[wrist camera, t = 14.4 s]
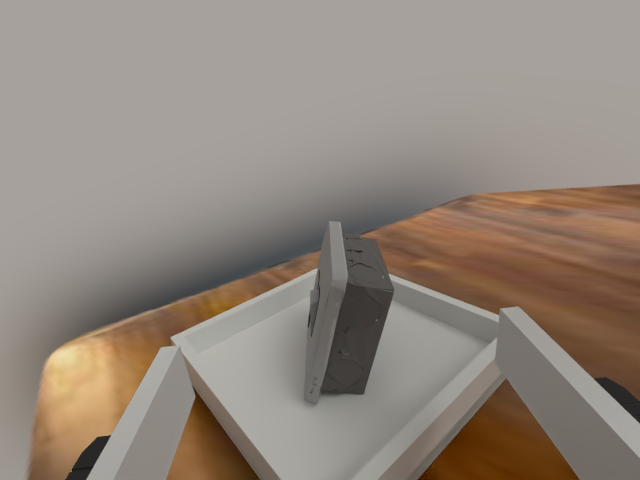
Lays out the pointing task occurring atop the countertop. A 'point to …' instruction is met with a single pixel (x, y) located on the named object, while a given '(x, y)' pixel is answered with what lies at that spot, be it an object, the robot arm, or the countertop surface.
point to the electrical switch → (345, 314)
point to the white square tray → (344, 407)
